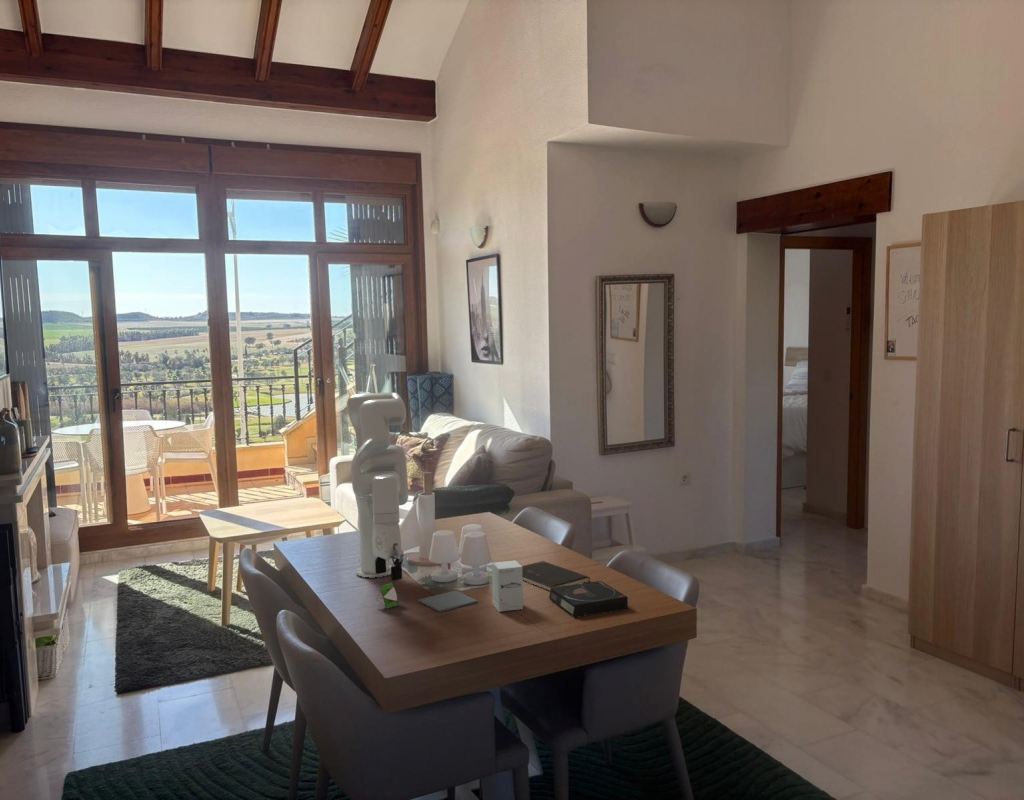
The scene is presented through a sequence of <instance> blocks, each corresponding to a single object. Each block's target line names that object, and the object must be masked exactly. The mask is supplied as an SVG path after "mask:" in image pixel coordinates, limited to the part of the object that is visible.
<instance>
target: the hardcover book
mask: <svg viewBox="0 0 1024 800" xmlns="http://www.w3.org/2000/svg"><path fill="white" fill-rule="evenodd" d="M521 566H522V580H524V581H523V582H525V581H527V582H526V583H528V582H529V583H528V584H530V583H532V584H531V585H533V584H534V586H535V585H537V586H536V587H538V586H539V587H538V588H541V587H542V588H541V589H543V588H544V590H546V589H547V590H546V591H548V590H549V592H550V590H551V588H554V587H561V586H568V585H575V584H580V583H584V582H585V583H589V582H588V581H590V582H591V578H590V576H589V575H585V574H582V573H580V572H576V571H574V570H571V569H567V568H565V567H562V566H560V565H556V564H553V563H550V562H547V561H545V560H542V561H538V562H532V563H528V564H525V565H521Z"/></svg>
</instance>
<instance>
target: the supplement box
mask: <svg viewBox="0 0 1024 800" xmlns="http://www.w3.org/2000/svg"><path fill="white" fill-rule="evenodd" d="M522 566H523V565H521V564H520V563H519V562H518V561H517V560H507V561H505V560H504V561H497V562H496V561H495V562H492V563H491V579H492V580H491V582H492V583H491V586H492V590H491V591H492V605H493V607H494V608H495V609H496V610H497V611H498V613H501V612H507V611H517V610H520V609H521V610H523V609H524V598H523V597H524V593H523V592H524V589H523V585H524V584H523V582H524V581H523V580H522Z"/></svg>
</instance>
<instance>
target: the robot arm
mask: <svg viewBox="0 0 1024 800" xmlns="http://www.w3.org/2000/svg"><path fill="white" fill-rule="evenodd" d="M346 409H347V414H348V417H349V420H350V422H351V425H352V427H353V429H354V432H355V440H356V443H355V444H356V452H355V454H354V455H353V458H352V460H351V465H350V473H351V486H352V490H353V491H352V492H353V494H354V497H355V501H356V507H357V514H358V515H357V516H358V531H359V536H358V538H359V557H360V558H359V559H358V561H359V563H360V567H357V569H356V571H355V575H357V576H358V575H359V576H358V577H360V576H362V577H361V578H365V577H369V579H375V577H377V578H383V576H384V577H388V576H390V580H391V581H393V582H394V581H395V582H396V581H398V580H402V579H403V569H402V568H403V567H402V566H403V561H404V556H405V554H404V551H403V550H402V538H401V537H402V536H401V529H400V522H401V521H400V518H401V517H400V506H404V505H405V504H406V503H407V502H408V500H409V481H408V468H407V458H406V452H405V449H404V447H402V446H401V445H398V444H391V443H392V442H391V435H390V428H389V426H399V425H404V424H405V422H406V419H407V409H406V405H405V402H404V400H403V398H402V397H401V396H400V394H399V393H397V392H392V391H391V392H367V393H365V392H363V393H356V394H353V395H351V396H350V397H349V396H348V398H347V401H346ZM390 563H391V565H390ZM387 575H388V576H387Z"/></svg>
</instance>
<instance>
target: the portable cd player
mask: <svg viewBox="0 0 1024 800" xmlns="http://www.w3.org/2000/svg"><path fill="white" fill-rule="evenodd" d="M548 598H549V600H550V601H551V600H552V601H551V602H552V603H554V604H555V603H556V604H555V605H557V606H558V607H559V606H560V607H559V608H561V609H562V610H563V609H564V610H563V611H565V612H566V613H567V612H568V613H567V614H569V615H570V616H571V615H572V616H571V617H573V618H574V617H575V618H579V617H578V616H581V617H585V616H584V615H588V616H591V615H590V614H594V615H598V614H597V613H600V614H603V613H602V612H606V613H611V612H610V611H612V612H616V611H615V610H618V611H623V610H622V609H625V610H628V607H629V606H628V600H629V599H628V596H627V595H625V594H624V593H622V592H620V591H619V590H618V589H615V588H614V587H612V586H610V585H609V584H606V583H605V582H603V581H602V580H596V581H590V582H585V583H582V584H575V585H568V586H561V587H554V588H551V590H550V591H549V595H548Z"/></svg>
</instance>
